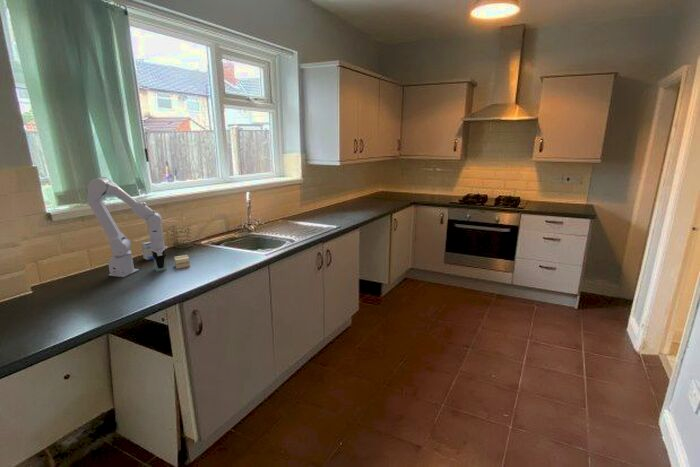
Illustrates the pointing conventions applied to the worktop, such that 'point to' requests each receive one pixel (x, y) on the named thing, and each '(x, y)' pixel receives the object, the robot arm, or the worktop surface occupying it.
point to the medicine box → (147, 251)
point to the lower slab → (182, 265)
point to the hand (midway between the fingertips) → (160, 266)
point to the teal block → (160, 268)
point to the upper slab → (181, 259)
